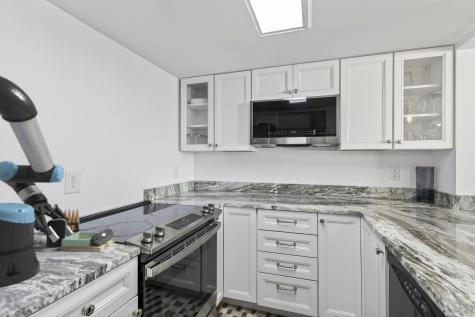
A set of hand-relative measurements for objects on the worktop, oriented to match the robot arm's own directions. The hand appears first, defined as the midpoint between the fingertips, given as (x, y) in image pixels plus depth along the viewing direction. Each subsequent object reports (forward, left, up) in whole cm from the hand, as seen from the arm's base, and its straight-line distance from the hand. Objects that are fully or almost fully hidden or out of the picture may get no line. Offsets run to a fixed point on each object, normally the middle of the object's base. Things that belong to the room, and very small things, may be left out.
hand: (63, 237), depth 104 cm
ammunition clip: (+20, +13, -4) cm, 24 cm away
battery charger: (+1, +4, -4) cm, 5 cm away
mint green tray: (+2, -10, -4) cm, 11 cm away
